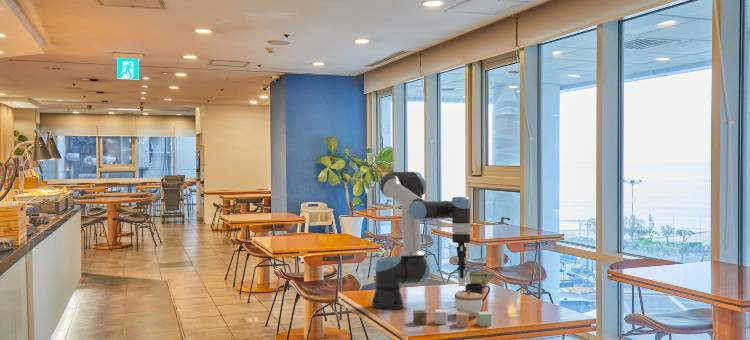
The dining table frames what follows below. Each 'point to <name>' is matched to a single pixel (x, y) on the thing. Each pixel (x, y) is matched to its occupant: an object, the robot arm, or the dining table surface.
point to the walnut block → (419, 317)
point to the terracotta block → (462, 319)
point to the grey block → (441, 316)
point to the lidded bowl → (468, 302)
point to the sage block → (483, 318)
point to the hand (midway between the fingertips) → (461, 283)
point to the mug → (477, 289)
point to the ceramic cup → (479, 277)
